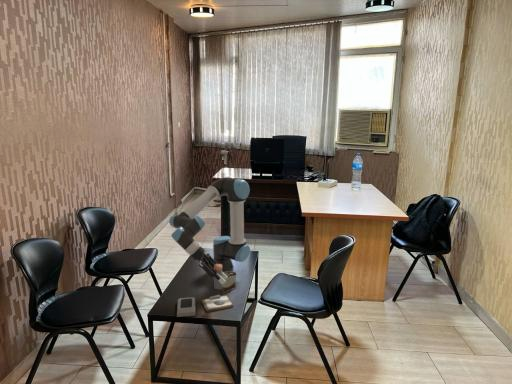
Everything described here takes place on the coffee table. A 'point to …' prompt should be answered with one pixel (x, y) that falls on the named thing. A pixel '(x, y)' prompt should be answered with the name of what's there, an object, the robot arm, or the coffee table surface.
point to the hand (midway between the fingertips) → (225, 280)
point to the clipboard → (217, 303)
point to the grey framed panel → (186, 307)
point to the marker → (219, 270)
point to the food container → (229, 281)
